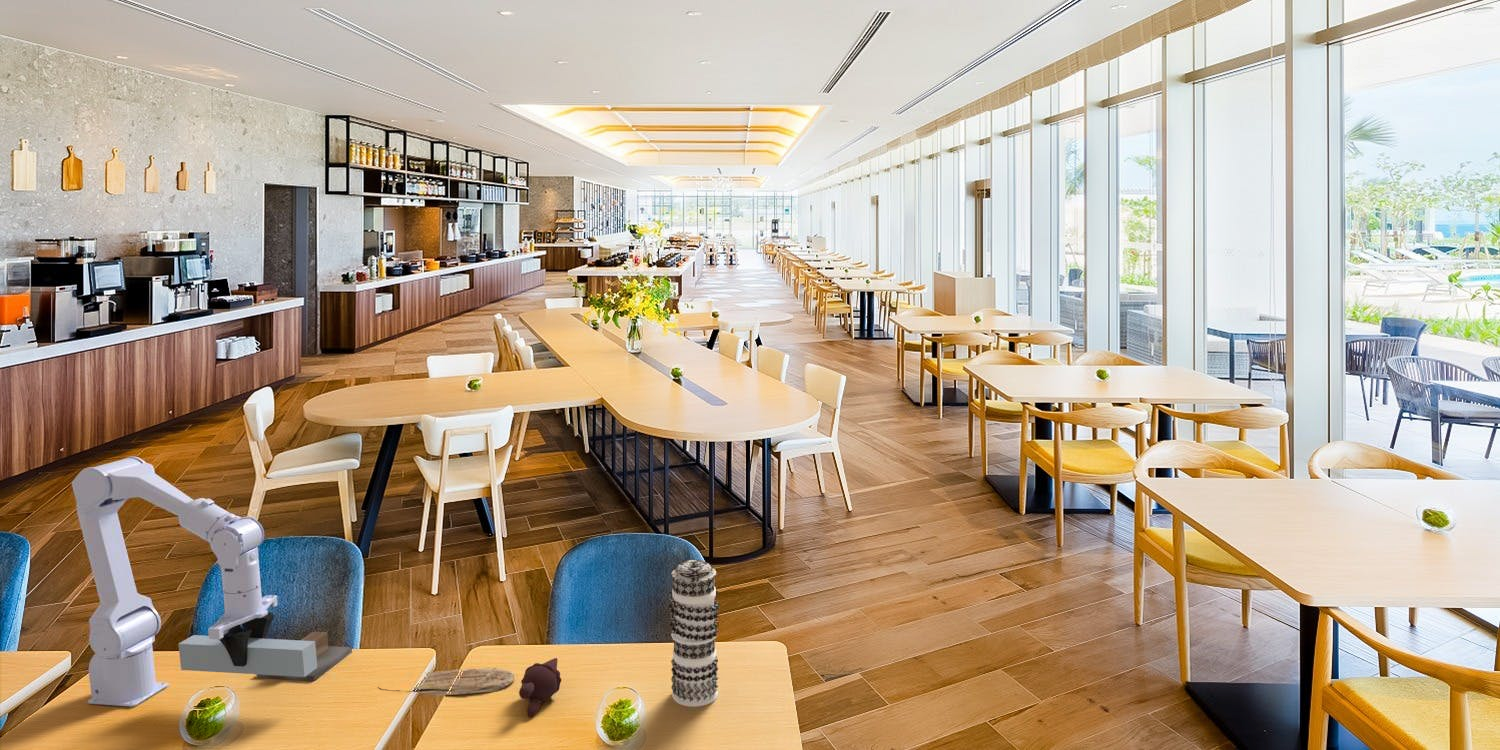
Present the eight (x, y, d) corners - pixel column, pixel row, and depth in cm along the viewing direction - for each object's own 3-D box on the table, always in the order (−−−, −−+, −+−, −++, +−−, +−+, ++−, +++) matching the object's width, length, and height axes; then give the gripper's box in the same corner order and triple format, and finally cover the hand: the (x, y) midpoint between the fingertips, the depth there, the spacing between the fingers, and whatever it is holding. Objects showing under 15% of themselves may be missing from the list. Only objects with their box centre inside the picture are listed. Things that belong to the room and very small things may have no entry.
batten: (181, 670, 150) (178, 643, 149) (196, 660, 153) (193, 635, 152) (304, 677, 147) (302, 650, 146) (317, 667, 150) (315, 641, 149)
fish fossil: (366, 701, 152) (366, 695, 152) (385, 678, 162) (384, 672, 162) (511, 690, 155) (511, 684, 155) (520, 668, 165) (520, 662, 165)
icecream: (533, 645, 159) (499, 691, 145) (568, 639, 158) (538, 684, 144) (544, 677, 161) (512, 726, 146) (579, 671, 159) (550, 720, 145)
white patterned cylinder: (669, 683, 158) (667, 556, 154) (718, 681, 159) (717, 554, 155) (669, 709, 149) (667, 574, 145) (721, 706, 150) (720, 573, 146)
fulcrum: (256, 677, 160) (254, 655, 160) (297, 648, 172) (296, 628, 171) (314, 681, 159) (312, 658, 158) (352, 652, 171) (350, 631, 170)
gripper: (232, 605, 140) (239, 681, 142) (290, 573, 154) (295, 642, 156) (194, 603, 141) (201, 678, 143) (255, 571, 155) (261, 640, 157)
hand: (248, 659), depth 150 cm, fingers closed on batten, 3 cm apart
